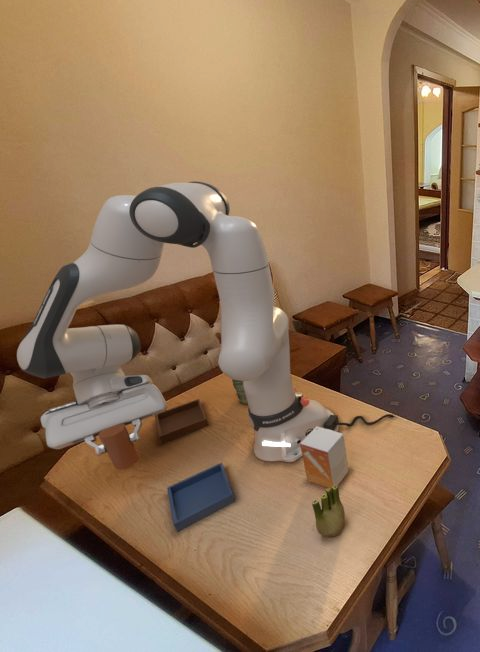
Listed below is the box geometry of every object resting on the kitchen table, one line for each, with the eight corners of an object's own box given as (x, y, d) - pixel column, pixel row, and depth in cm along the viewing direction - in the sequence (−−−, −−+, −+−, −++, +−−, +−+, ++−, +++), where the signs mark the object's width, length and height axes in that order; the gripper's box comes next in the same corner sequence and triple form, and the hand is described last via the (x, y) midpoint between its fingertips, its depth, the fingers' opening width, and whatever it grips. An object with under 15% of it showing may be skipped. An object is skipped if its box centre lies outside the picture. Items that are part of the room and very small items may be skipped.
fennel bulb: (319, 544, 76) (311, 506, 71) (318, 524, 80) (310, 486, 75) (347, 534, 78) (341, 496, 73) (345, 514, 82) (339, 477, 78)
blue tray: (224, 469, 93) (221, 462, 92) (235, 501, 85) (232, 493, 84) (170, 494, 86) (167, 487, 85) (177, 532, 78) (173, 524, 77)
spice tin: (139, 452, 87) (124, 420, 83) (140, 463, 84) (125, 430, 80) (115, 461, 85) (98, 429, 81) (115, 473, 82) (98, 440, 78)
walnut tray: (201, 404, 115) (199, 398, 114) (208, 425, 107) (206, 418, 106) (157, 420, 108) (154, 414, 107) (161, 443, 100) (158, 437, 99)
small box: (307, 482, 90) (298, 443, 85) (323, 462, 96) (316, 425, 90) (334, 491, 88) (327, 452, 83) (349, 470, 93) (343, 433, 88)
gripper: (32, 409, 76) (47, 471, 73) (155, 372, 88) (172, 424, 86) (44, 414, 80) (59, 473, 78) (159, 379, 93) (175, 428, 91)
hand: (119, 447), depth 82 cm, fingers closed on spice tin, 4 cm apart
